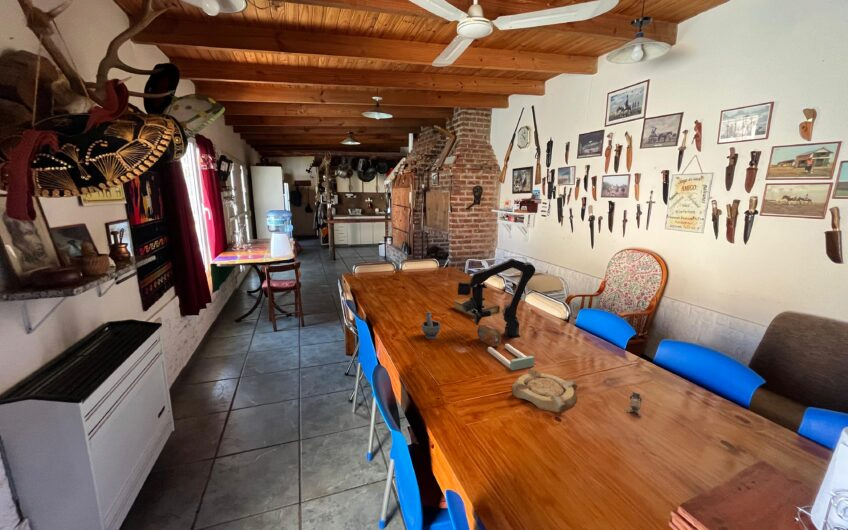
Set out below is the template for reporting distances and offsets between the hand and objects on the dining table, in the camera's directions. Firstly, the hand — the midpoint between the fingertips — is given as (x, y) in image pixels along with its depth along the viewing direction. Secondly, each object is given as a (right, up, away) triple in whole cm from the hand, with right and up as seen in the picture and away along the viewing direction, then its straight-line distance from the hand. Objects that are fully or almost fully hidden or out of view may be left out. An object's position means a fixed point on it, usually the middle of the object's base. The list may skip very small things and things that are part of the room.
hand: (476, 324), depth 182 cm
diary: (+5, +2, +38) cm, 38 cm away
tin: (+4, -8, -11) cm, 14 cm away
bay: (+10, -10, -26) cm, 30 cm away
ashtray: (+17, -16, -54) cm, 59 cm away
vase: (+43, -18, -65) cm, 80 cm away
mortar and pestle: (-24, -6, -2) cm, 25 cm away
